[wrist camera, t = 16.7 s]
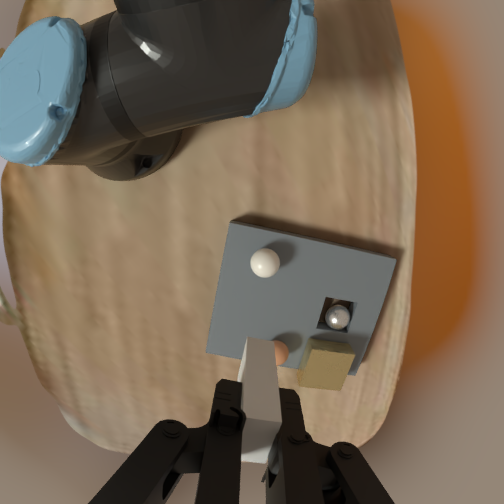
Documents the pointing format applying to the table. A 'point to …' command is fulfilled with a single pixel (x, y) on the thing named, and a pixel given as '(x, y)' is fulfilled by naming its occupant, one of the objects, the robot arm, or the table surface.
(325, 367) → the brass cover
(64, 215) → the table surface
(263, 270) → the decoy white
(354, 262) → the slate plate
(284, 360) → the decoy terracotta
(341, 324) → the steel ball
